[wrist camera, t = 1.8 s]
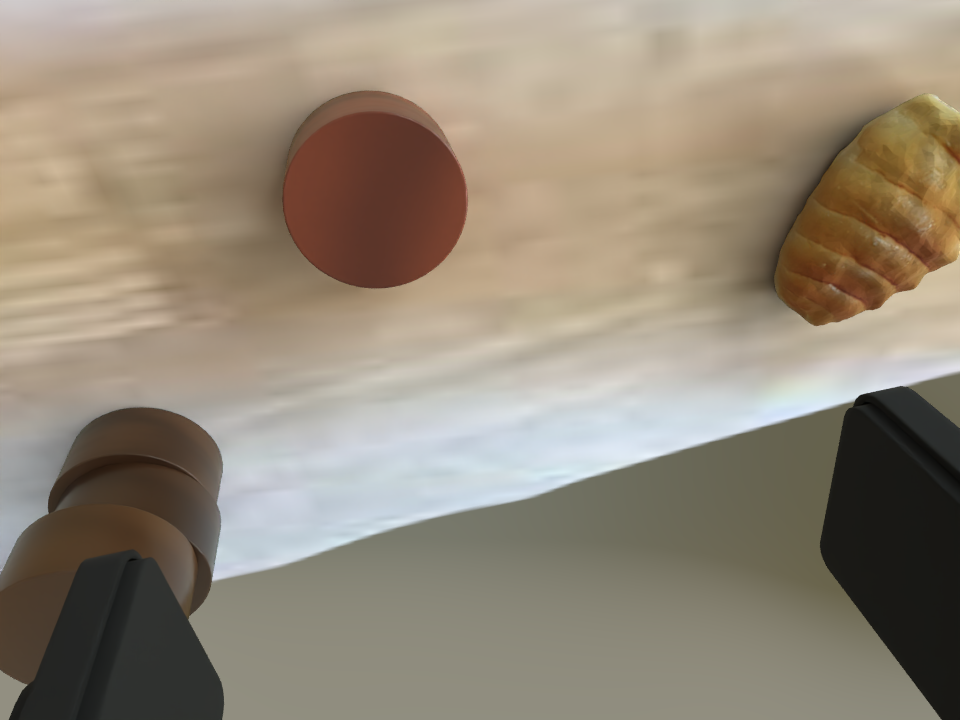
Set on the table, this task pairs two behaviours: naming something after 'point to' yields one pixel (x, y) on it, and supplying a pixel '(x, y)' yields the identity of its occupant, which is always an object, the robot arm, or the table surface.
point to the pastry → (877, 216)
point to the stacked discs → (114, 523)
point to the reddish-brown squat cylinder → (373, 190)
